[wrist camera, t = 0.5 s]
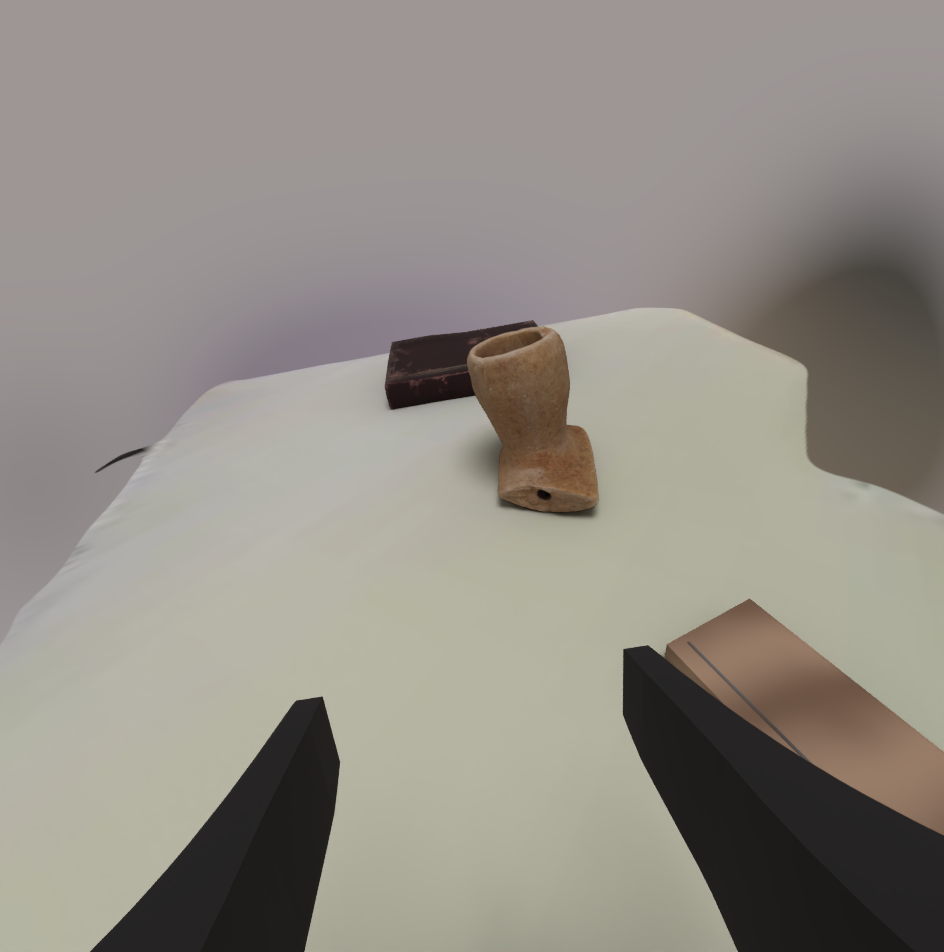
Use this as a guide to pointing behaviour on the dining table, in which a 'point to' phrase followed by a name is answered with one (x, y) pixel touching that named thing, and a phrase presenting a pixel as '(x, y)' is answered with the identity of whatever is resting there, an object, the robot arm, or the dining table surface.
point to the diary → (435, 366)
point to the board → (813, 709)
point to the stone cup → (534, 421)
